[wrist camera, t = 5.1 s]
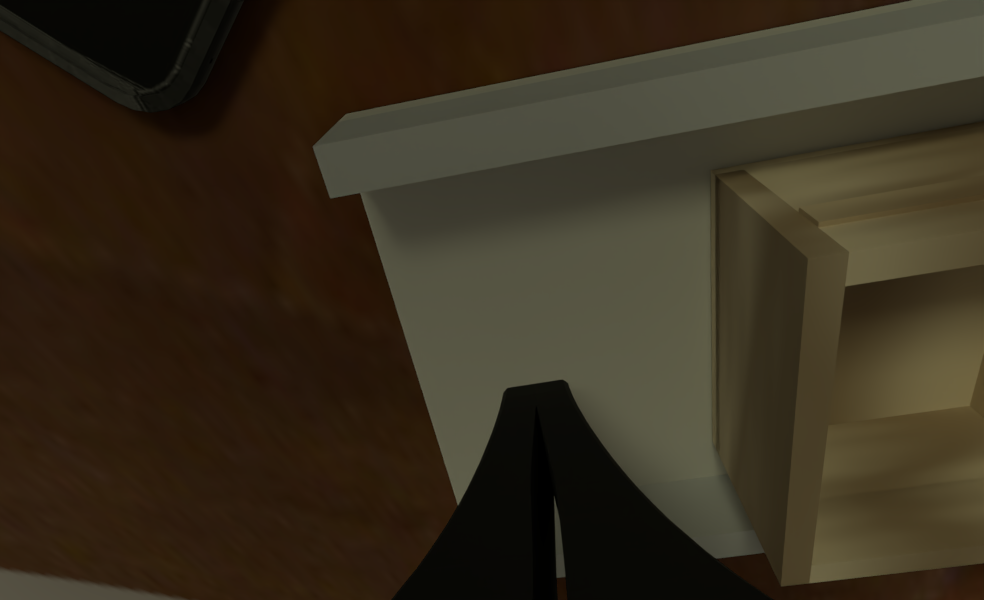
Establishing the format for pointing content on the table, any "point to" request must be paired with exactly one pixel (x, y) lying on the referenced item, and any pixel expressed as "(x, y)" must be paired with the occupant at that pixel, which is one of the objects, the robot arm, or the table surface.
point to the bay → (621, 224)
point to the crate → (854, 353)
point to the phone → (127, 43)
